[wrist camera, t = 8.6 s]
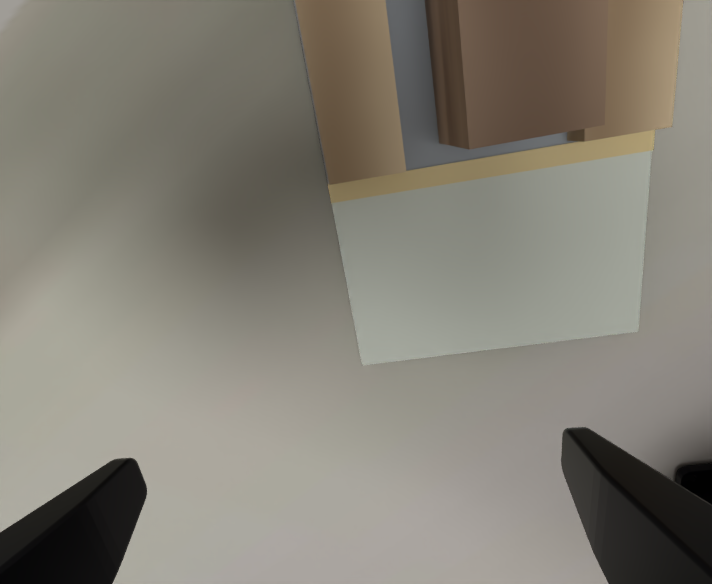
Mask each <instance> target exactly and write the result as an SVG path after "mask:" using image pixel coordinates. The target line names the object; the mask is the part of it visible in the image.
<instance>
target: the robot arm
mask: <svg viewBox="0 0 712 584" xmlns="http://www.w3.org/2000/svg"><path fill="white" fill-rule="evenodd" d="M561 464H562V470H563V473H564V476H565V479H566V482H567V484H568V487H569V490H570V492H571V495H572V498H573V500H574V503H575V505H576V508H577V511H578V513H579V516H580V519H581V521H582V524H583V527H584V529H585V532H586V535H587V537H588V540H589V542H590V545H591V547H592V550H593V552H594V554H595V557H596V559H597V561H598V563H599V565H600V567H601V569H602V571H603V573H604V575H605V577H606V579H607V581H608V583H609V584H712V464H701V465H690V466H684V467H682V468H680V469H679V470H678V471H677V474H676V481H675V482H674V481H672V480H671V479H669V478H668V477H666V476H664V475H663V474H661V473H660V472H658V471H656V470H655V469H653V468H651V467H650V466H648V465H647V464H645V463H643V462H642V461H640V460H639V459H637V458H635V457H634V456H632V455H631V454H629V453H627V452H626V451H624V450H622V449H621V448H619V447H618V446H616V445H614V444H613V443H611V442H610V441H608V440H606V439H605V438H603V437H602V436H600V435H598V434H597V433H595V432H594V431H592V430H590V429H588V428H586V427H578V428H567V429H565V430H564V432H563V437H562V456H561ZM146 495H147V487H146V483H145V481H144V478H143V476H142V473H141V471H140V468H139V466H138V463H137V461H136V460H135V459H133V458H121V459H115V460H112V461H110V462H109V463H107V464H106V465H104V466H103V467H101V468H100V469H98V470H96V471H95V472H93V473H92V474H90V475H89V476H87V477H86V478H84V479H83V480H81V481H79V482H78V483H76V484H75V485H73V486H72V487H70V488H69V489H67V490H65V491H64V492H62V493H61V494H59V495H58V496H56V497H55V498H53V499H52V500H50V501H48V502H47V503H45V504H44V505H42V506H41V507H39V508H38V509H36V510H34V511H33V512H31V513H30V514H28V515H27V516H25V517H24V518H22V519H21V520H19V521H17V522H16V523H14V524H13V525H11V526H10V527H8V528H7V529H5V530H3V531H2V532H0V584H112V583H113V581H114V579H115V577H116V575H117V572H118V570H119V567H120V565H121V563H122V560H123V558H124V555H125V552H126V550H127V547H128V544H129V542H130V539H131V536H132V534H133V531H134V528H135V526H136V523H137V521H138V518H139V515H140V513H141V510H142V507H143V505H144V502H145V499H146Z"/></svg>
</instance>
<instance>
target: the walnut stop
mask: <svg viewBox="0 0 712 584" xmlns="http://www.w3.org/2000/svg"><path fill="white" fill-rule="evenodd" d="M425 10H426V19H427V29H428V39H429V49H430V58H431V68H432V78H433V88H434V97H435V107H436V117H437V127H438V136H439V143H440V144H445V145H450V146H455V147H459V148H464V149H469V150H470V149H475V148H481V147H486V146H492V145H497V144H503V143H508V142H514V141H520V140H525V139H531V138H536V137H542V136H547V135H553V134H558V133H564V132H569V131H575V130H580V129H586V128H591V127H597V126H602V125H605V101H606V65H607V29H608V0H425Z"/></svg>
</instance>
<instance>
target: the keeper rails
mask: <svg viewBox="0 0 712 584" xmlns="http://www.w3.org/2000/svg"><path fill="white" fill-rule="evenodd" d="M295 4H296V9H297V15H298V20H299V25H300V31H301V36H302V41H303V47H304V52H305V57H306V63H307V68H308V73H309V79H310V84H311V89H312V95H313V100H314V106H315V111H316V116H317V122H318V127H319V132H320V138H321V143H322V148H323V154H324V159H325V164H326V170H327V175H328V180H329V185H332V184H338V183H344V182H350V181H356V180H362V179H368V178H373V177H379V176H385V175H391V174H397V173H403V172H406V164H405V156H404V148H403V140H402V131H401V123H400V115H399V107H398V99H397V91H396V82H395V74H394V66H393V58H392V50H391V42H390V34H389V25H388V17H387V9H386V1H385V0H295ZM682 8H683V0H608V29H607V65H606V101H605V125H602V126H597V127H591V128H586V129H580V130H575V131H569V132H567V141H580V142H586V141H592V140H598V139H604V138H609V137H615V136H621V135H627V134H633V133H639V132H645V131H651V130H657V129H663V128H669V127H672V122H673V110H674V99H675V88H676V76H677V65H678V54H679V42H680V31H681V20H682Z"/></svg>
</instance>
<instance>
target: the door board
mask: <svg viewBox="0 0 712 584" xmlns="http://www.w3.org/2000/svg"><path fill="white" fill-rule="evenodd" d="M385 1H386V9H387V17H388V25H389V34H390V42H391V50H392V58H393V66H394V74H395V82H396V91H397V99H398V107H399V115H400V123H401V131H402V140H403V148H404V156H405V164H406V172H403V173H397V174H391V175H385V176H379V177H373V178H368V179H362V180H356V181H350V182H344V183H338V184H332V185H329V180H328V175H327V170H326V164H325V159H324V154H323V148H322V143H321V138H320V132H319V127H318V122H317V116H316V111H315V106H314V100H313V95H312V89H311V84H310V79H309V73H308V68H307V63H306V57H305V52H304V47H303V41H302V36H301V31H300V25H299V20H298V15H297V9H296V4H295V0H293V2H294V7H295V12H296V17H297V23H298V28H299V33H300V39H301V44H302V49H303V55H304V60H305V65H306V71H307V76H308V81H309V87H310V92H311V97H312V102H313V108H314V113H315V118H316V124H317V129H318V134H319V140H320V145H321V150H322V156H323V161H324V166H325V172H326V177H327V182H328V189H329V195H330V200H331V203H332V209H333V214H334V219H335V225H336V230H337V235H338V241H339V246H340V251H341V257H342V262H343V267H344V273H345V278H346V283H347V289H348V294H349V299H350V304H351V310H352V315H353V320H354V326H355V331H356V336H357V342H358V347H359V352H360V358H361V363H362V366H363V365H371V364H379V363H387V362H395V361H404V360H412V359H420V358H428V357H436V356H444V355H453V354H461V353H469V352H477V351H485V350H493V349H502V348H510V347H518V346H526V345H534V344H542V343H551V342H559V341H567V340H575V339H583V338H592V337H600V336H608V335H616V334H624V333H632V332H638V331H639V318H640V304H641V291H642V277H643V264H644V250H645V237H646V223H647V210H648V196H649V183H650V169H651V156H652V150H654V136H655V130H651V131H645V132H639V133H633V134H627V135H621V136H615V137H609V138H604V139H598V140H592V141H586V142H580V141H567V132H564V133H558V134H553V135H547V136H542V137H536V138H531V139H525V140H520V141H514V142H508V143H503V144H497V145H492V146H486V147H481V148H475V149H470V150H469V149H464V148H459V147H455V146H450V145H445V144H440V143H439V136H438V127H437V117H436V107H435V97H434V88H433V78H432V68H431V58H430V49H429V39H428V29H427V19H426V10H425V0H385Z"/></svg>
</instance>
